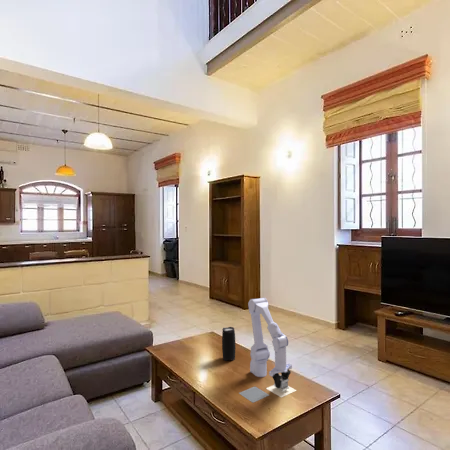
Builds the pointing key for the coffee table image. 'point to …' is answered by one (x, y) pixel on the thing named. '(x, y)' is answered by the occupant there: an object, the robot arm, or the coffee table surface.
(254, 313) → the robot arm
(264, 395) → the stand
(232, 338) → the portable speaker
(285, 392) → the stand
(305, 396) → the coffee table surface
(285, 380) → the block
